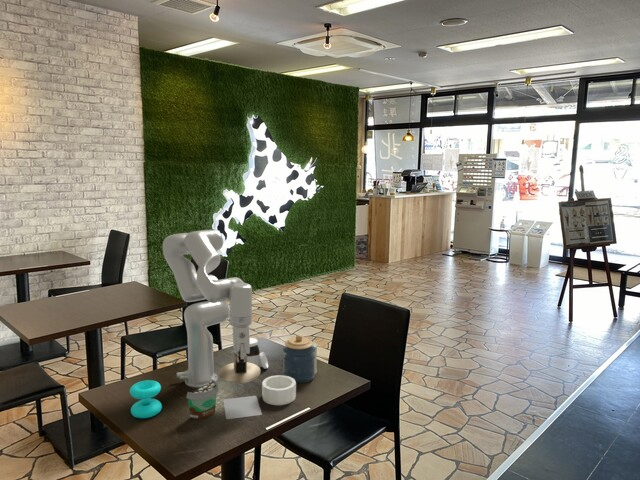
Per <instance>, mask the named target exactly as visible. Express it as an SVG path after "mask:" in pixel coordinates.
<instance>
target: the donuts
mask: <svg viewBox="0 0 640 480" xmlns="http://www.w3.org/2000/svg"><path fill="white" fill-rule="evenodd" d="M161 390H162V386H161V383H159V382H158V381H157V380H152V379H145V380H141V381H138V382H136V383H134V384H133V385H131V387H130V389H129V394H130V396H131V397H132V398H134V399H136V400H138V401H136V402H134V403H133V405H132V406H131V408H130V413H131V415H132V416H133V417H134V418H136V419H149V418H153V417H154V416H156V415H158V414H159V413H160V412H161V411H162V408H163V405H162V403H161V401H159V399H156V398H154V397H156V396H157V395H158V394H159V393H160V392H161Z"/></svg>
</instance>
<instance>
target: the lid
mask: <svg viewBox="0 0 640 480" xmlns="http://www.w3.org/2000/svg"><path fill="white" fill-rule="evenodd" d="M238 353H240V352H238ZM239 357H240V355H239ZM236 361H237V354H236V353H235V352H233V362H232V363H227V364H225V365H223V366H222V367H221V368H220V370H219V377H220V378H221V379H222V380H223V381H225V382H229V383H232V384H233V383H234V384H245V383H250V382H252V381H254V380H256V379H258V378H259V377H260V376H261V367H260V366H259V367H258V366H257V365H255V364H253V363H248V362H247V355H246V352H245V361H246V372H243V373H236Z"/></svg>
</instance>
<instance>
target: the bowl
mask: <svg viewBox="0 0 640 480" xmlns="http://www.w3.org/2000/svg"><path fill="white" fill-rule="evenodd" d="M261 396H262V401H263V402H264V403H266V404H269V405H273V406H283V405H284V406H285V405H288V404H291V403H292V402H294V401H295V400H296V396H297V383H296V382H295V380H294V379H293V378H291V377H289V376H283V374H279V375H278V374H277V375H271V376H268V377H266V378H265V379H263V381H262V382H261Z"/></svg>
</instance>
